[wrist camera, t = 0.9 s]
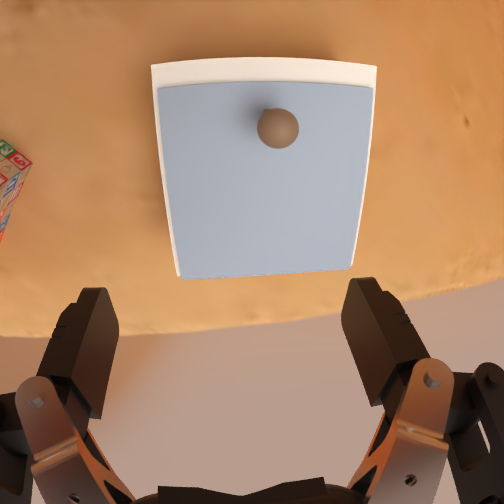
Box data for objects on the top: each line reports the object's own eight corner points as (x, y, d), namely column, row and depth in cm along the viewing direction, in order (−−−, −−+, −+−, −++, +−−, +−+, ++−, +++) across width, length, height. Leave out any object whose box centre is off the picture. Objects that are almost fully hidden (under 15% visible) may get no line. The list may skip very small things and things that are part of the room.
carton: (170, 63, 29) (151, 64, 21) (337, 62, 30) (376, 66, 22) (185, 227, 40) (177, 276, 32) (326, 219, 41) (352, 264, 33)
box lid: (158, 88, 22) (141, 95, 17) (370, 87, 23) (404, 97, 18) (182, 276, 32) (176, 316, 27) (347, 265, 33) (366, 301, 28)
